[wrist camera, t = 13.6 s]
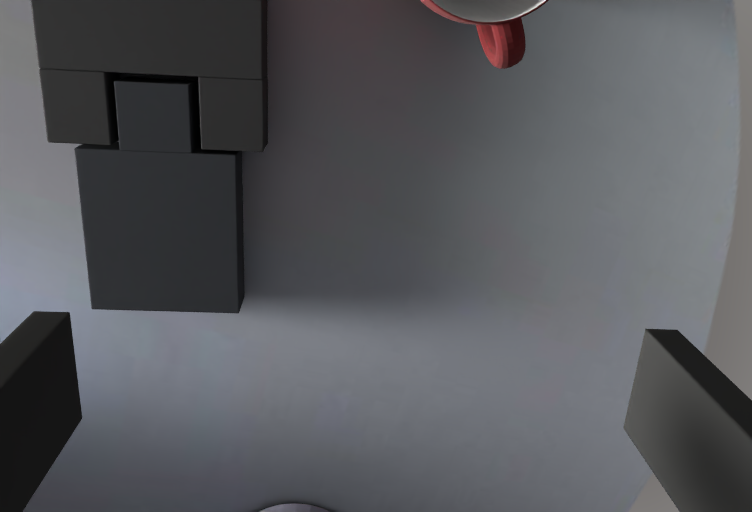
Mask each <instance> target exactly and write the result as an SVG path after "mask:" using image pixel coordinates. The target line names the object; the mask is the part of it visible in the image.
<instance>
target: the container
mask: <svg viewBox="0 0 752 512" xmlns="http://www.w3.org/2000/svg"><path fill="white" fill-rule="evenodd" d="M258 512H329V511H327V510H325V509H323V508H320V507H316V506H313V505H307V504H297V503H296V504H281V505H277V506H272V507H269V508H266V509H263V510H261V511H258Z"/></svg>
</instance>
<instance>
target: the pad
mask: <svg viewBox="0 0 752 512" xmlns="http://www.w3.org/2000/svg"><path fill="white" fill-rule="evenodd" d="M114 85H115V97H116V110H117V122H118V134H119V142H118V141H116V142H115V143H113V144H111V145H98V144H82V145H80V146H78V147H76V148H75V157H76V167H77V176H78V185H79V195H80V204H81V214H82V223H83V232H84V242H85V251H86V261H87V270H88V279H89V289H90V298H91V308H92V309H106V310H143V311H179V312H215V313H239V311H240V308H241V305H242V302H243V299H244V244H243V184H242V151H229V150H207V149H201V145H200V129H199V104H198V81H197V80H180V79H161V78H141V77H126V78H123V79H120V80H116V81H114Z"/></svg>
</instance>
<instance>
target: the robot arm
mask: <svg viewBox="0 0 752 512" xmlns="http://www.w3.org/2000/svg"><path fill="white" fill-rule="evenodd" d="M81 419H82V412H81V404H80V396H79V387H78V379H77V371H76V362H75V354H74V346H73V337H72V329H71V321H70V312H38V311H34V312H33V313H32V314H31V315H30V316H29V317H28V318H26V319H25V320H24V321H23V322H22V323H21V324H20V325H19V326H18V327H17V328H16V329H15V330H14V331H13V332H12V333H11V334H10V335H9V336H8V337H7V338H6V339H5V340H4V341H3V342H2V343H1V344H0V512H23V510H24V508H25V507H26V505H27V504H28V502H29V501H30V499H31V497H32V496H33V494H34V493H35V491H36V490H37V488H38V487H39V485H40V483H41V482H42V480H43V479H44V477H45V476H46V474H47V472H48V471H49V469H50V468H51V466H52V465H53V463H54V462H55V460H56V458H57V457H58V455H59V454H60V452H61V451H62V449H63V447H64V446H65V444H66V443H67V441H68V440H69V438H70V437H71V435H72V433H73V432H74V430H75V429H76V427H77V426H78V424H79V422H80V421H81ZM624 430H625V431H626V433H627V434H628V436H629V437H630V439H631V440H632V442H633V443H634V445H635V446H636V448H637V449H638V451H639V452H640V454H641V455H642V456H643V458H644V459H645V461H646V462H647V464H648V465H649V467H650V468H651V470H652V471H653V473H654V474H655V476H656V477H657V479H658V480H659V482H660V483H661V484H662V486H663V487H664V489H665V491H666V492H667V494H668V495H669V496H670V498H671V499H672V501H673V502H674V504H675V505H676V507H677V508H678V510H679V511H680V512H752V400H751V399H749V398H748V397H747V396H746V395H745V394H744V393H743V392H742V391H741V390H740V389H739V388H738V387H737V386H736V385H735V384H734V383H733V382H732V381H730V380H729V379H728V378H727V377H726V376H725V375H724V374H723V373H722V372H721V371H720V370H719V369H718V368H717V367H716V366H715V365H714V364H712V362H711V361H709V360H708V359H707V358H706V357H705V356H704V355H703V354H702V353H701V352H700V351H699V350H698V349H697V348H696V347H695V346H694V345H693V344H692V343H691V342H689V341H688V340H687V339H686V338H685V337H684V336H683V335H682V334H681V333H680V332H679V331H678V330H665V329H645V334H644V338H643V343H642V347H641V352H640V356H639V361H638V365H637V370H636V374H635V379H634V383H633V388H632V392H631V397H630V401H629V406H628V410H627V415H626V419H625V424H624Z"/></svg>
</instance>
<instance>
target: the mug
mask: <svg viewBox="0 0 752 512" xmlns="http://www.w3.org/2000/svg"><path fill="white" fill-rule="evenodd" d="M420 1H421V2H422V3H424V4H425V5H426V6H427V7H428V8H430V9H431V10H433V11H434V12H436V13H438V14H439V15H441V16H443V17H445V18H448V19H450V20H453V21H456V22H460V23H465V24H474V25H476V27H477V31H478V35H479V38H480V42H481V45H482V47H483V50H484V52H485V54H486V56H487V57H488V59H489V61H490V62H491V64H492V65H494V66H495V67H497V68H500V69H505V68H509V67H512V66H514V65H516V64H518V63H519V62H520V61H521V60H522V58H523V56H524V53H525V34H524V28H523V24H522V20H521V17H523V16H526V15H528V14H530V13H531V12H533V11H535V10H537V9H538V8H539V7H541V6H542V5H544V4H545V3H546V2H547V1H548V0H420Z"/></svg>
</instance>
